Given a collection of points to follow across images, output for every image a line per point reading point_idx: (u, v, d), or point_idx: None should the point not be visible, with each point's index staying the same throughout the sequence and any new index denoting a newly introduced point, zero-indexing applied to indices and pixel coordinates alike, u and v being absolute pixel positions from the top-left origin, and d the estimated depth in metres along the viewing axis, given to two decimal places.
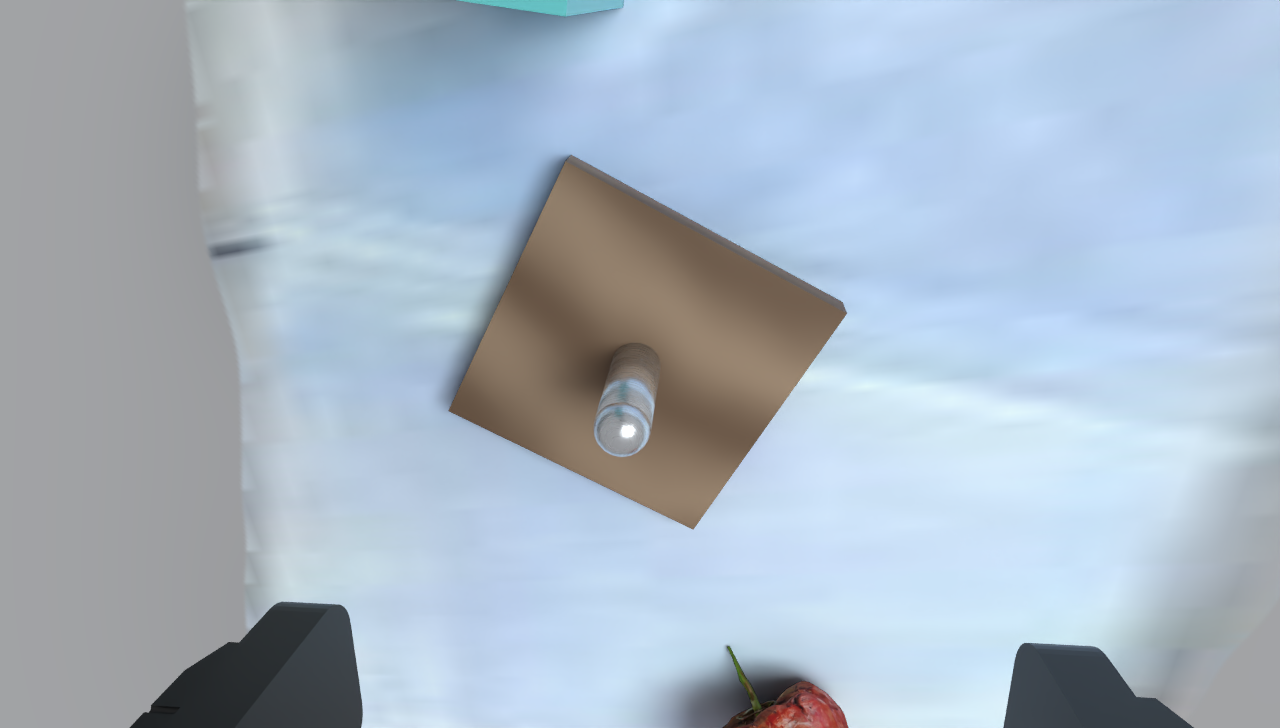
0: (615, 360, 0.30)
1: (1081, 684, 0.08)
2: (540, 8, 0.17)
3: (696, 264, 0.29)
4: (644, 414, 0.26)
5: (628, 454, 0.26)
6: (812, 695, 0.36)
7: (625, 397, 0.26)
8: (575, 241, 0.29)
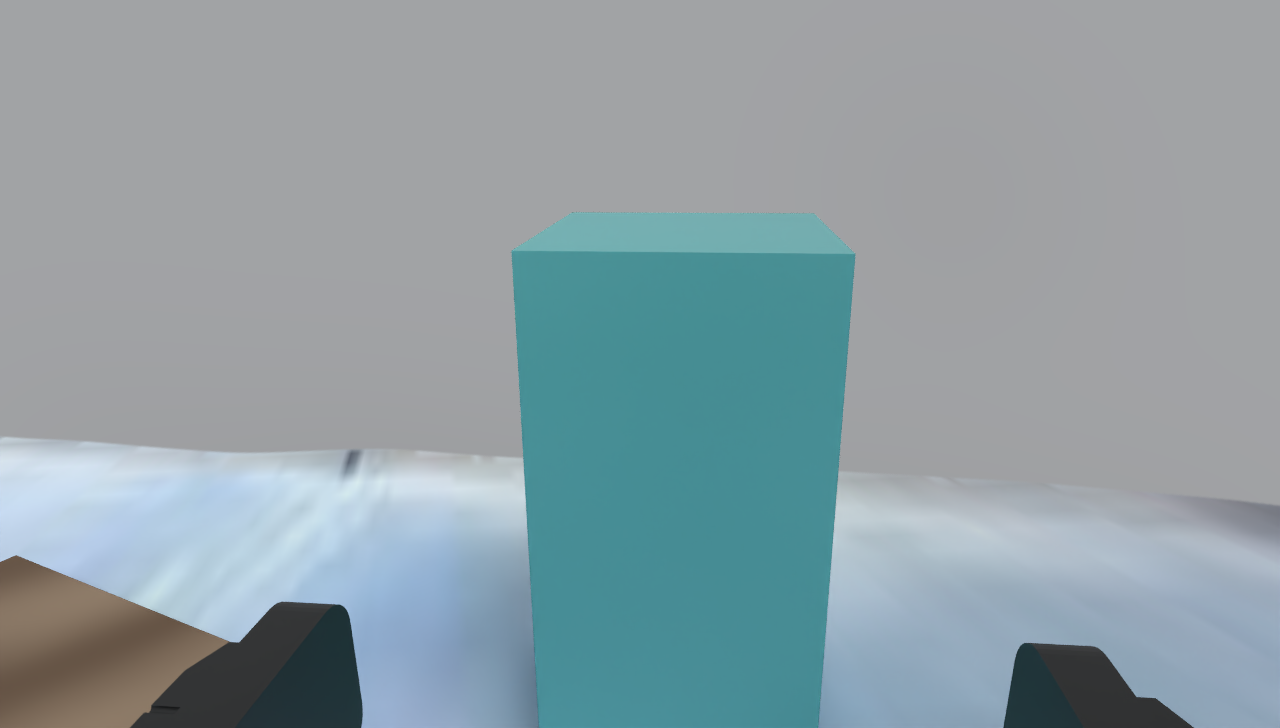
0: None
1: (1080, 684, 0.08)
2: None
3: None
4: None
5: None
6: None
7: None
8: None
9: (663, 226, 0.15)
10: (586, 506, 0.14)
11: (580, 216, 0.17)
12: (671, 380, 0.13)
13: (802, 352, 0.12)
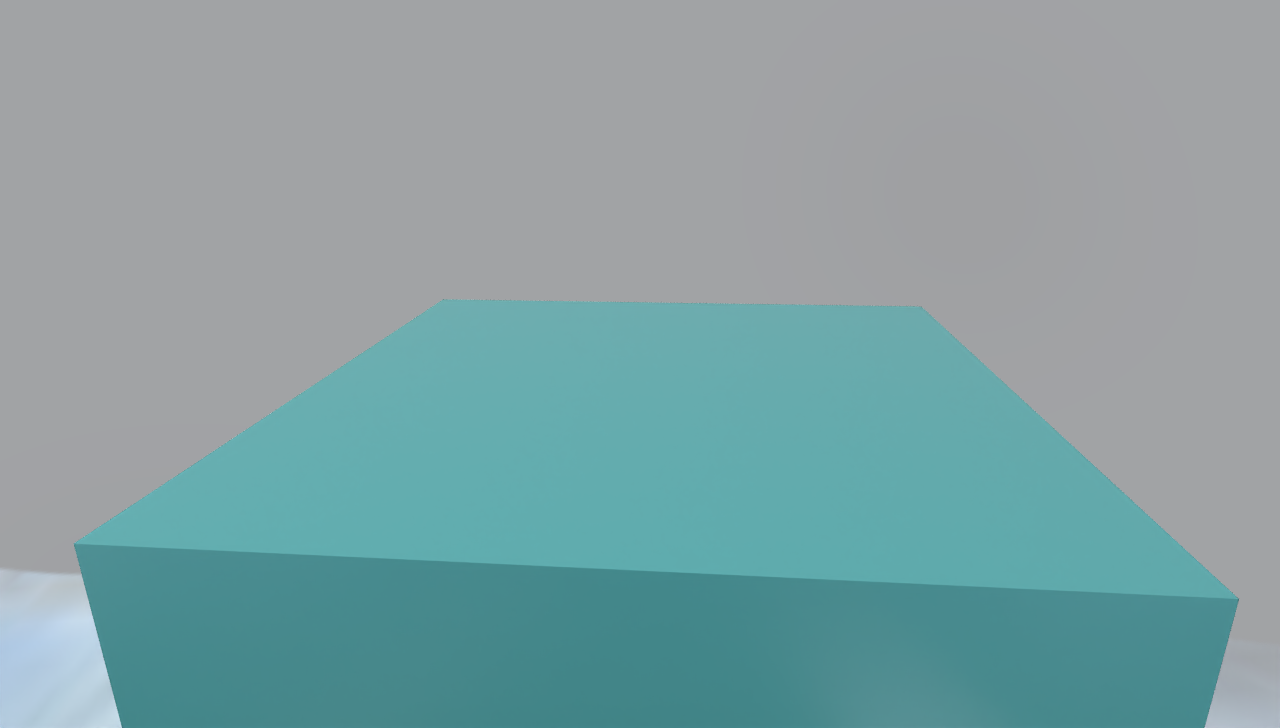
0: None
1: None
2: (169, 496, 0.04)
3: None
4: None
5: None
6: None
7: None
8: None
9: (606, 364, 0.07)
10: None
11: (448, 315, 0.08)
12: None
13: None
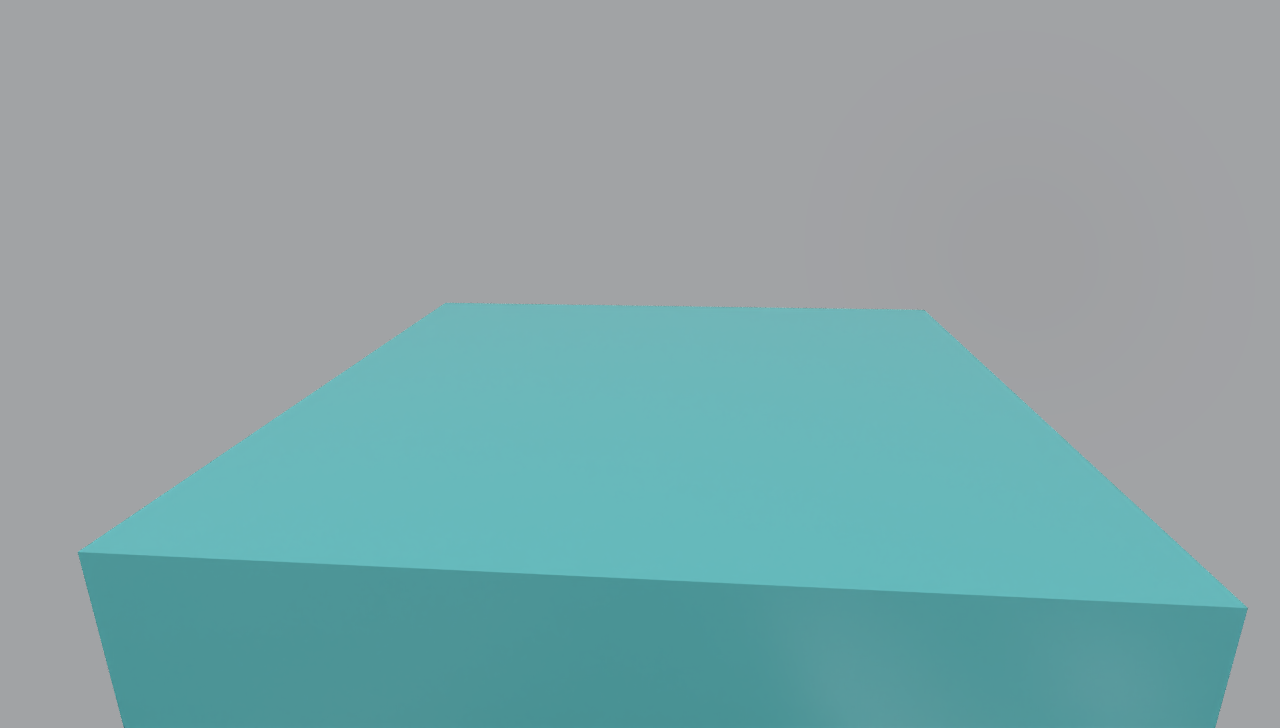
0: None
1: None
2: (172, 504, 0.04)
3: None
4: None
5: None
6: None
7: None
8: None
9: (609, 369, 0.06)
10: None
11: (450, 319, 0.08)
12: None
13: None
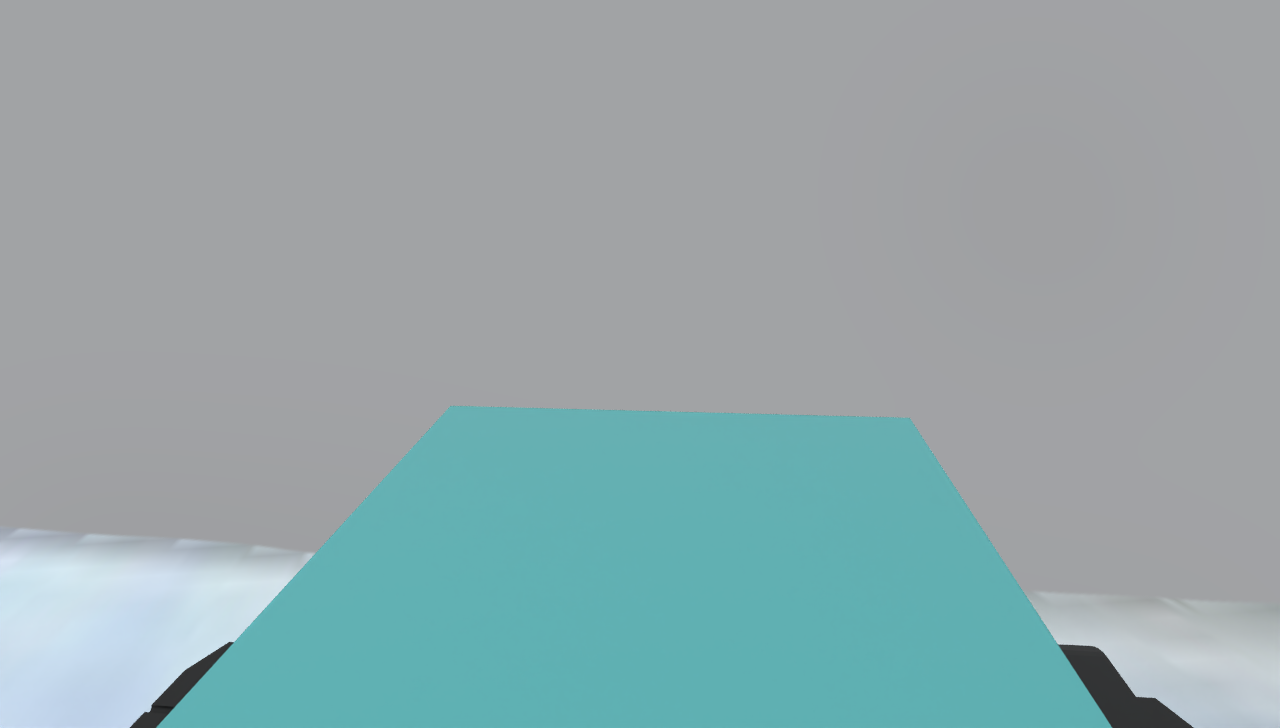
0: None
1: None
2: (207, 692, 0.05)
3: None
4: None
5: None
6: None
7: None
8: None
9: (608, 504, 0.07)
10: None
11: (456, 430, 0.09)
12: None
13: None
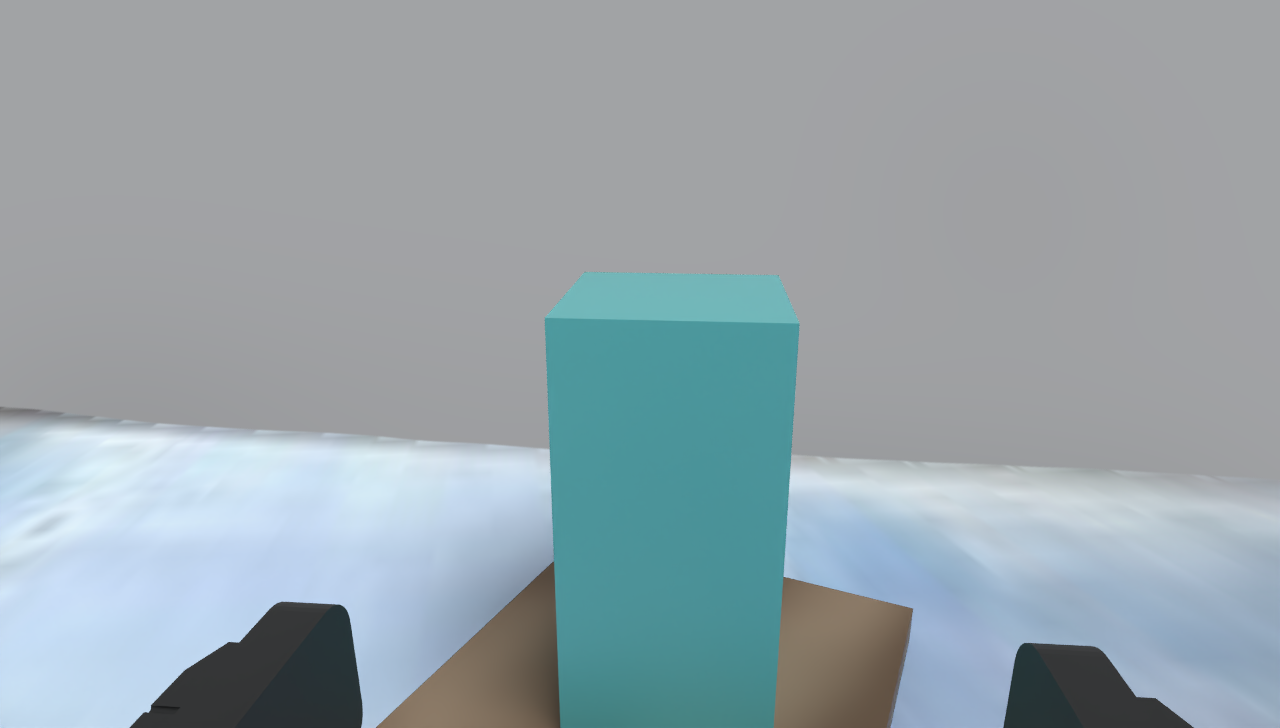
0: None
1: (1080, 684, 0.08)
2: (553, 313, 0.17)
3: (841, 723, 0.20)
4: None
5: None
6: None
7: None
8: (823, 615, 0.24)
9: (658, 290, 0.19)
10: (598, 510, 0.18)
11: (591, 277, 0.21)
12: (663, 413, 0.17)
13: (761, 393, 0.17)
